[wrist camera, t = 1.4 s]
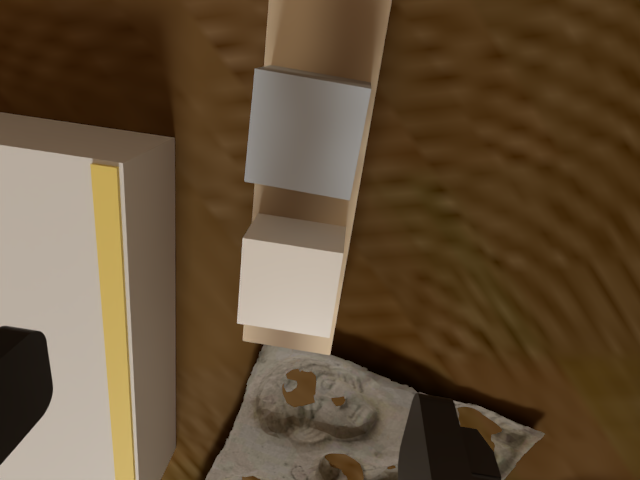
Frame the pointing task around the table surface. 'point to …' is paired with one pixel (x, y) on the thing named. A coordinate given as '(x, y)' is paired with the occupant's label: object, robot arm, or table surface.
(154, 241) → the white rectangular box
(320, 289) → the cream white block
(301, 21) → the tan long block
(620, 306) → the table surface
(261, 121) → the grey block
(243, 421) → the stone relief
